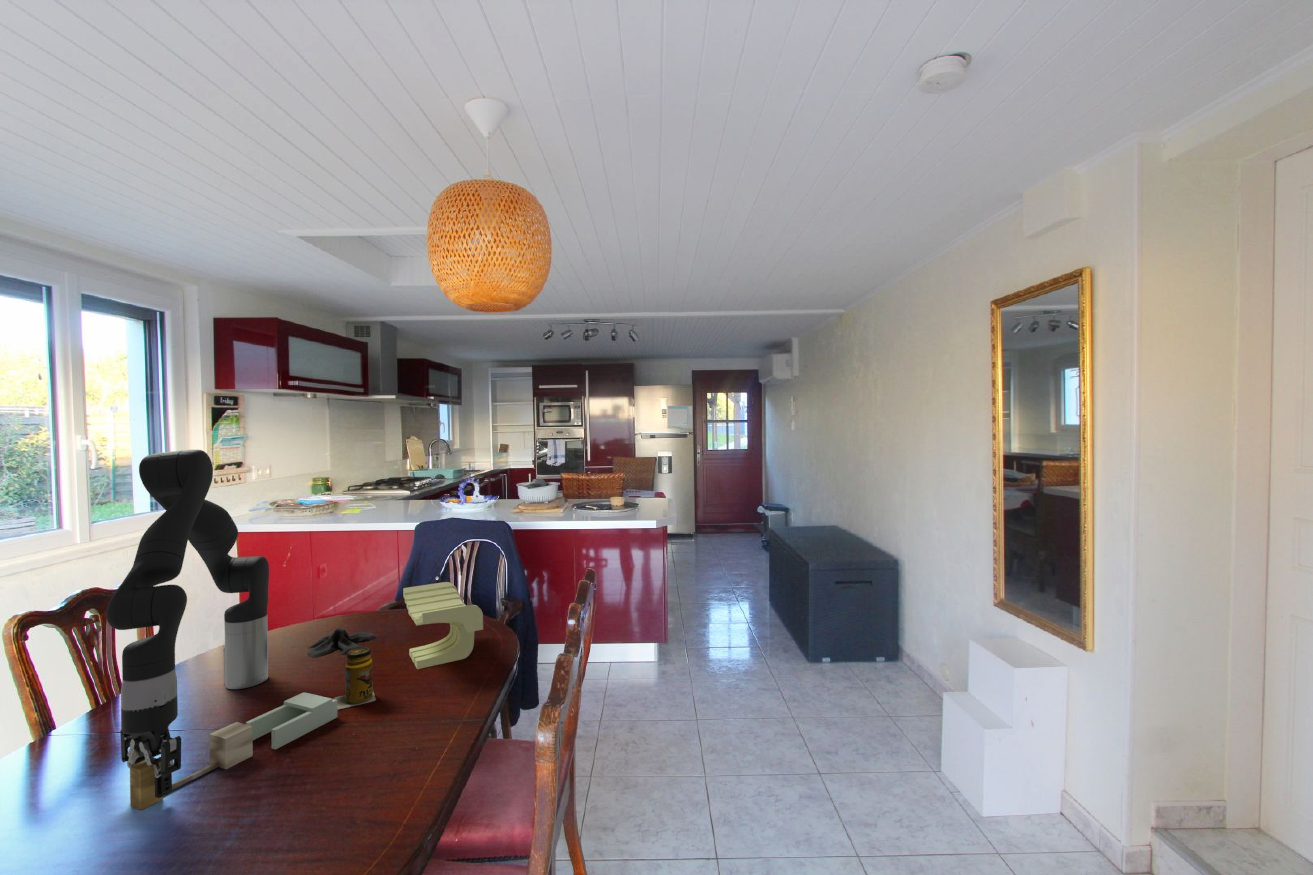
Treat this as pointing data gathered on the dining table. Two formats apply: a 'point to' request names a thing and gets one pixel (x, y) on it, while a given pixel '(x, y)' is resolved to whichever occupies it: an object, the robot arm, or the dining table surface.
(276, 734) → the u-shaped sage bracket
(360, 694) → the condiment
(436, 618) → the slatted curved stool
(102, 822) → the dining table surface
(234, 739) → the tethered block
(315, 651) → the cloth
